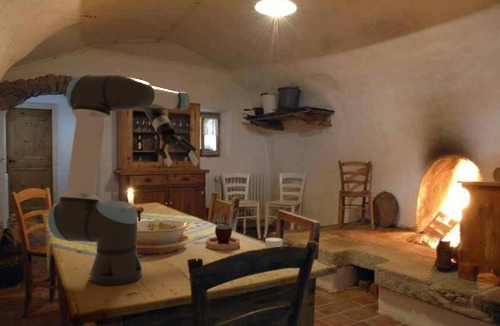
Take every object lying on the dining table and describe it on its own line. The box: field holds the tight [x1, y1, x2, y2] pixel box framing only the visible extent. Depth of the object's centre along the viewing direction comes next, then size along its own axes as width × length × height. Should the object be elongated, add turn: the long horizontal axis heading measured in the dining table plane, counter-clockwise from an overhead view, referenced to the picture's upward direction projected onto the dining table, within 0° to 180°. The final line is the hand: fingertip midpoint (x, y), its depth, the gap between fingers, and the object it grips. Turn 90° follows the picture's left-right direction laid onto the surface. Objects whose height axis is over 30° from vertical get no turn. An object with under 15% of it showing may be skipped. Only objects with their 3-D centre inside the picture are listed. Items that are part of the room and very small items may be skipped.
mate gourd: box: [214, 207, 238, 244], centre depth 161 cm, size 8×8×15 cm
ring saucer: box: [205, 236, 241, 251], centre depth 161 cm, size 14×14×2 cm
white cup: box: [265, 237, 284, 249], centre depth 145 cm, size 7×7×7 cm
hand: (183, 163), depth 161 cm, fingers open, 13 cm apart
